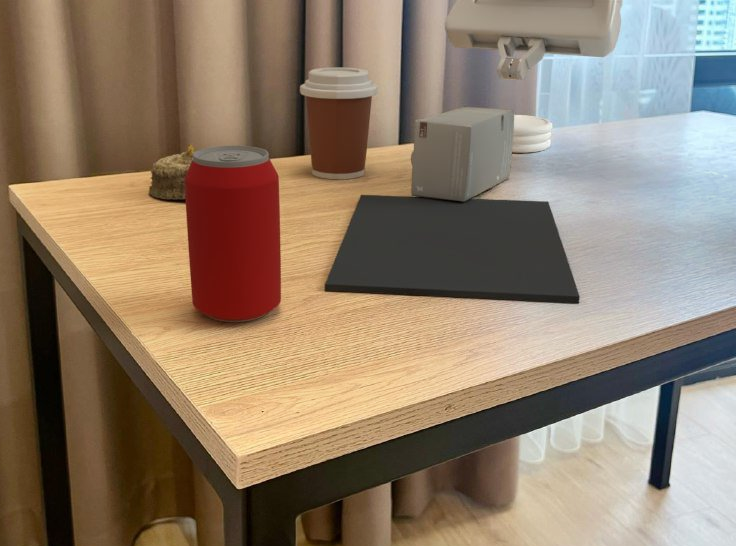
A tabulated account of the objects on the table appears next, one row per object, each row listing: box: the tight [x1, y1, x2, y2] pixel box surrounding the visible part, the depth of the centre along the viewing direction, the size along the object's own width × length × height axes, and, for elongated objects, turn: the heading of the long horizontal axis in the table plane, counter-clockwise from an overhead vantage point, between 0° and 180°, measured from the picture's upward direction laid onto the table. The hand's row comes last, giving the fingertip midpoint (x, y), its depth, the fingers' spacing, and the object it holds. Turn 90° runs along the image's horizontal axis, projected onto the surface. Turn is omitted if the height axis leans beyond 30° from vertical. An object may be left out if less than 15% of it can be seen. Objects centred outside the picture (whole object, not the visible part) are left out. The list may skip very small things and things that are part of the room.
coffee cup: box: [299, 67, 379, 180], centre depth 107 cm, size 9×9×12 cm
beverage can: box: [185, 145, 282, 323], centre depth 66 cm, size 7×7×12 cm
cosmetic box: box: [410, 106, 515, 202], centre depth 100 cm, size 8×7×16 cm
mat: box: [324, 194, 581, 304], centre depth 84 cm, size 20×28×1 cm
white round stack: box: [512, 114, 554, 154], centre depth 123 cm, size 10×10×4 cm
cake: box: [148, 144, 196, 201], centre depth 100 cm, size 10×10×5 cm
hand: (509, 76), depth 103 cm, fingers closed
